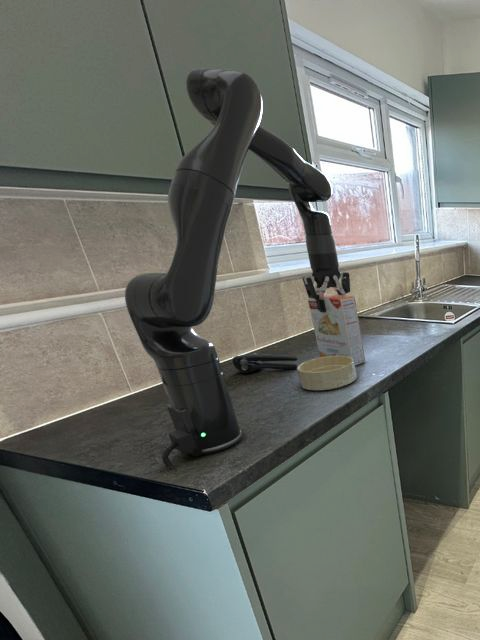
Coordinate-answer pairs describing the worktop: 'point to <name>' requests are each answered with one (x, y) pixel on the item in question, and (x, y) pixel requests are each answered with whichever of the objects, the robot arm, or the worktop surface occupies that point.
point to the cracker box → (338, 327)
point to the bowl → (326, 372)
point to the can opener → (248, 365)
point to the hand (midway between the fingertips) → (333, 309)
